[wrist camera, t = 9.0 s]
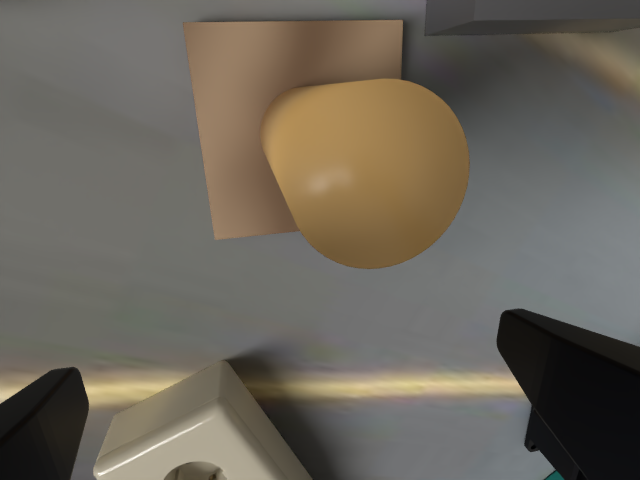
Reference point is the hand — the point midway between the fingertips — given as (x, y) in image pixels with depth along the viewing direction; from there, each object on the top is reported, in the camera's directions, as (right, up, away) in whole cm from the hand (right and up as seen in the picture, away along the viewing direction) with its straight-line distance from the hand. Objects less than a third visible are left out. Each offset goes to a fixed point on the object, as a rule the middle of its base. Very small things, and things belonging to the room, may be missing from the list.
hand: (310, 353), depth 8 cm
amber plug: (0, +7, +9) cm, 12 cm away
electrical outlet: (-5, -13, +18) cm, 22 cm away
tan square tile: (-1, +7, +10) cm, 12 cm away
